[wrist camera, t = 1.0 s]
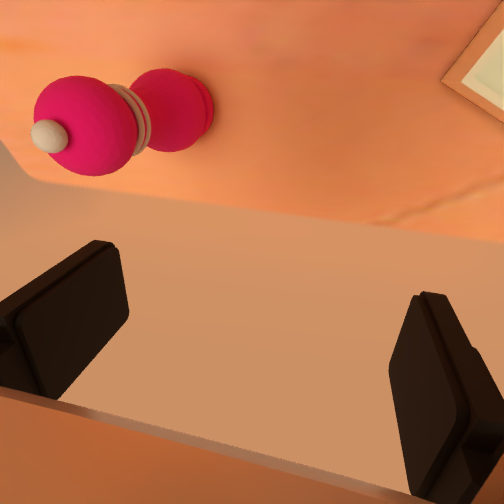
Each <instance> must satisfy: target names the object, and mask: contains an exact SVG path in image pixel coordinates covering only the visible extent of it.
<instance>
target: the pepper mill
mask: <svg viewBox="0 0 504 504" xmlns="http://www.w3.org/2000/svg"><path fill="white" fill-rule="evenodd" d="M213 113H214V111H213V102H212V98H211V96H210V94H209V92H208V90H207V89H206V87H205V86H204V85H203V84H202V83H201V82H200V81H199V80H197V79H196V78H194V77H191V76H188V75H184V74H182V73H180V72H178V71H175V70H172V69H163V68H162V69H156V70H151V71H148V72H146V73H144V74H143V75H141V76H140V77H139V78H138V79H137V80H135V81H134V82H133V83H132V85H131V86H130V88H129V89H128V88H126V87H124V86H122V85H117V84H105V83H103V82H102V81H100V80H97V79H95V78H90V77H85V76H69V77H65V78H61V79H58V80H56V81H54V82H52V83H50V84H49V85H48V86H47V87H46V88H45V89H44V90H43V91H42V92H41V94H40V95H39V97H38V99H37V102H36V105H35V108H34V125H33V126H32V128H31V138H32V141H33V143H34V144H35V145H36V146H37V147H38V148H39V149H40V150H42V151H44V152H47V153H48V154H49V155H50V156H51V157H52V158H53V159H54V160H55V161H56V162H57V163H58V164H60V165H61V166H63V167H64V168H66V169H68V170H70V171H72V172H74V173H77V174H80V175H86V176H102V175H106V174H110V173H113V172H115V171H117V170H118V169H120V168H122V167H123V166H124V165H125V164H126V163H127V162H128V161H129V160H130V158H131V157H132V156H135V155H137V154H139V153H141V152H142V151H143V150H144V149H145V147H146V146H148V147H150V148H152V149H154V150H157V151H162V152H176V151H180V150H184V149H186V148H188V147H190V146H191V145H193V144H194V143H195V142H196V141H197V139H198V138H199V137H200V136H202V135H203V134H204V133H205V132H206V131H207V130H208V129H209V127H210V125H211V123H212V120H213Z"/></svg>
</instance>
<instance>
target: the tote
mask: <svg viewBox="0 0 504 504" xmlns="http://www.w3.org/2000/svg"><path fill="white" fill-rule="evenodd" d="M441 82H442V83H444V84H445V85H447V86H448V87H450V88H451V89H453V90H454V91H456V92H457V93H459V94H460V95H462V96H463V97H465V98H466V99H468V100H469V101H471V102H472V103H474V104H475V105H477V106H478V107H480V108H481V109H483V110H484V111H486V112H487V113H489V114H490V115H492V116H493V117H495V118H496V119H498V120H499V121H501V122H502V123H504V0H503V1H502V2H501V3H500V4H499V6H498V7H497V8H496V10H495V11H494V12H493V14H492V15H491V16H490V17H489V19H488V20H487V21H486V23H485V24H484V25H483V26H482V28H481V29H480V30H479V32H478V33H477V34H476V36H475V37H474V38H473V39H472V41H471V42H470V43H469V45H468V46H467V47H466V48H465V50H464V51H463V52H462V54H461V55H460V56H459V58H458V59H457V60H456V61H455V63H454V64H453V65H452V67H451V68H450V69H449V70H448V72H447V73H446V74H445V76H444V77H443V78H442V79H441Z"/></svg>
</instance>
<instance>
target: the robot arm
mask: <svg viewBox="0 0 504 504" xmlns="http://www.w3.org/2000/svg"><path fill="white" fill-rule="evenodd" d="M128 316H129V307H128V301H127V295H126V290H125V284H124V277H123V272H122V266H121V260H120V254H119V250H118V249H117V248H115V245H114V244H113V243H111V242H106V241H100V240H94V241H91V242H90V243H88V244H87V245H85V246H84V247H82V248H81V249H79V250H78V251H76V252H75V253H73V254H72V255H70V256H69V257H67V258H66V259H64V260H63V261H61V262H60V263H58V264H57V265H55V266H54V267H52V268H51V269H49V270H48V271H46V272H44V273H43V274H42V275H40V276H38V277H37V278H35V279H34V280H32V281H31V282H29V283H28V284H27V285H25V286H23V287H22V288H20V289H19V290H17V291H16V292H14V293H13V294H11V295H10V296H8V297H7V298H6V299H4V300H2V301H1V302H0V504H504V399H503V397H502V395H501V394H500V392H499V390H498V388H497V386H496V384H495V382H494V380H493V378H492V376H491V375H490V372H489V370H488V369H487V367H486V365H485V363H484V361H483V359H482V357H481V355H480V353H479V352H478V351H477V349H476V348H474V347H472V346H471V344H470V342H469V340H468V338H467V336H466V334H465V332H464V330H463V328H462V326H461V324H460V322H459V320H458V318H457V316H456V314H455V312H454V310H453V308H452V306H451V304H450V302H449V300H448V298H447V297H446V295H443V294H438V293H431V292H425V291H423V292H421V293H420V295H419V296H418V295H414V296H413V297H412V299H411V302H410V305H409V308H408V311H407V314H406V316H405V319H404V322H403V325H402V328H401V331H400V334H399V337H398V340H397V343H396V345H395V348H394V351H393V354H392V357H391V360H390V363H389V378H390V383H391V389H392V395H393V401H394V406H395V412H396V418H397V423H398V429H399V434H400V440H401V446H402V451H403V457H404V462H405V468H406V474H407V480H408V485H409V490H410V493H411V495H412V496H411V495H408V494H405V493H402V492H398V491H395V490H391V489H388V488H385V487H381V486H377V485H374V484H371V483H367V482H364V481H360V480H356V479H353V478H349V477H346V476H343V475H339V474H335V473H332V472H328V471H325V470H321V469H317V468H314V467H309V466H306V465H302V464H299V463H295V462H291V461H287V460H284V459H279V458H276V457H272V456H269V455H265V454H261V453H257V452H254V451H250V450H246V449H242V448H239V447H235V446H231V445H227V444H223V443H220V442H216V441H212V440H208V439H205V438H201V437H197V436H193V435H189V434H185V433H182V432H178V431H174V430H170V429H166V428H162V427H158V426H155V425H151V424H147V423H143V422H139V421H135V420H132V419H128V418H124V417H120V416H116V415H112V414H109V413H105V412H100V411H97V410H93V409H88V408H85V407H81V406H77V405H73V404H69V403H65V402H61V401H57V400H58V399H59V398H60V397H61V395H62V394H63V393H64V392H65V391H66V390H67V389H68V387H69V386H70V385H71V384H72V383H73V382H74V381H75V379H76V378H77V377H78V376H79V375H80V374H81V372H82V371H83V370H84V369H85V368H86V367H87V366H88V364H89V363H90V362H91V361H92V360H93V359H94V358H95V356H96V355H97V354H98V353H99V352H100V351H101V350H102V348H103V347H104V346H105V345H106V344H107V343H108V341H109V340H110V339H111V338H112V337H113V336H114V335H115V333H116V332H117V331H118V330H119V329H120V327H121V326H122V325H123V324H124V323H125V322H126V320H127V319H128ZM414 496H415V497H414ZM417 497H418V498H417Z"/></svg>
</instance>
